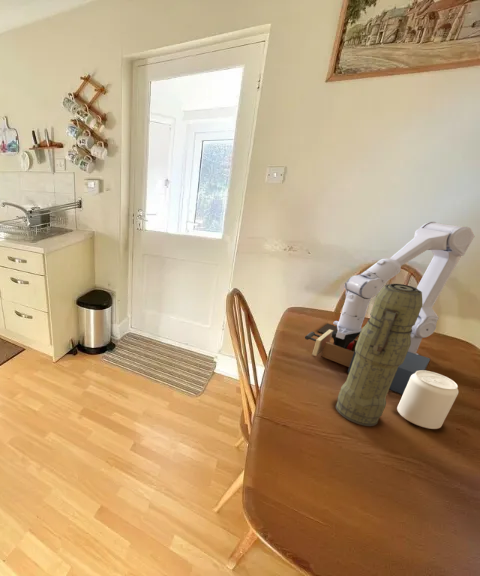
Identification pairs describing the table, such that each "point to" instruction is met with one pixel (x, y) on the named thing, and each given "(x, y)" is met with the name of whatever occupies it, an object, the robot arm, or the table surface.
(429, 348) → the table surface
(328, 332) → the drawer
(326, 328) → the dark brown flat plate
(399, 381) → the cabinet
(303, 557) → the table surface
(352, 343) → the red can
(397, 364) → the thermos
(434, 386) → the white cylinder
